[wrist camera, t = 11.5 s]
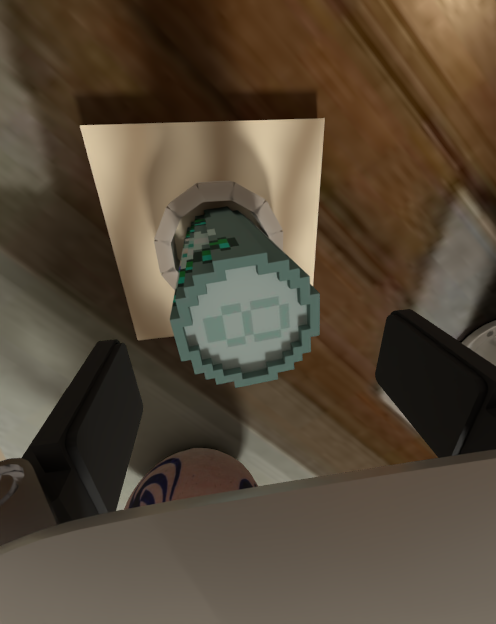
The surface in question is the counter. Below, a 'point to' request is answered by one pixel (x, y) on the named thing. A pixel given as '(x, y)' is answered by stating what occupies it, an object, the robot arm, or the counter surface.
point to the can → (240, 302)
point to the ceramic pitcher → (190, 477)
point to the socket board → (200, 195)
